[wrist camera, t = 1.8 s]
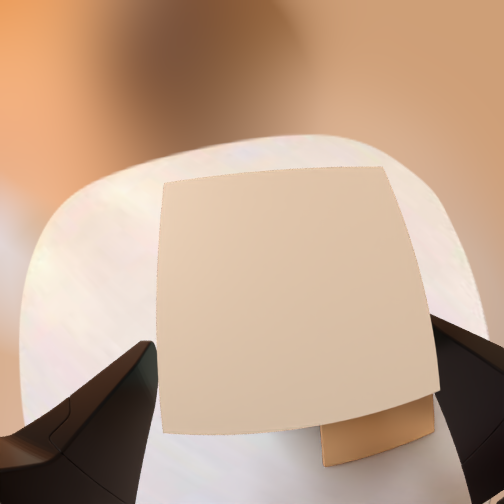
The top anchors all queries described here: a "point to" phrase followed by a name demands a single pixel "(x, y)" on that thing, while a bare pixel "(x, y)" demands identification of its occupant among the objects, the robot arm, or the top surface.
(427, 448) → the top surface
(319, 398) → the tea tin
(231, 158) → the top surface
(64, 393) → the top surface
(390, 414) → the coaster
